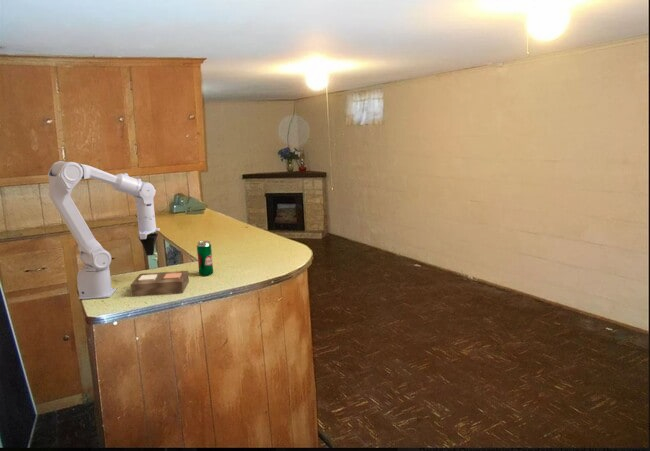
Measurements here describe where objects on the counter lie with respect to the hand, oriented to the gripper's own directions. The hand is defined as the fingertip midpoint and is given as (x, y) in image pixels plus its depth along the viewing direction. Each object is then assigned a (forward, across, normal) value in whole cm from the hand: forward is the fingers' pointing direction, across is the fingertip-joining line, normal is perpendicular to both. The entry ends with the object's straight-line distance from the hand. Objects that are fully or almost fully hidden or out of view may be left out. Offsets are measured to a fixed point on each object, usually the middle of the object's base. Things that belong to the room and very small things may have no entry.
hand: (150, 254), depth 174 cm
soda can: (+10, +4, -18) cm, 21 cm away
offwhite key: (+7, -10, -1) cm, 13 cm away
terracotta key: (+8, -10, -9) cm, 15 cm away
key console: (+9, -10, -5) cm, 15 cm away
